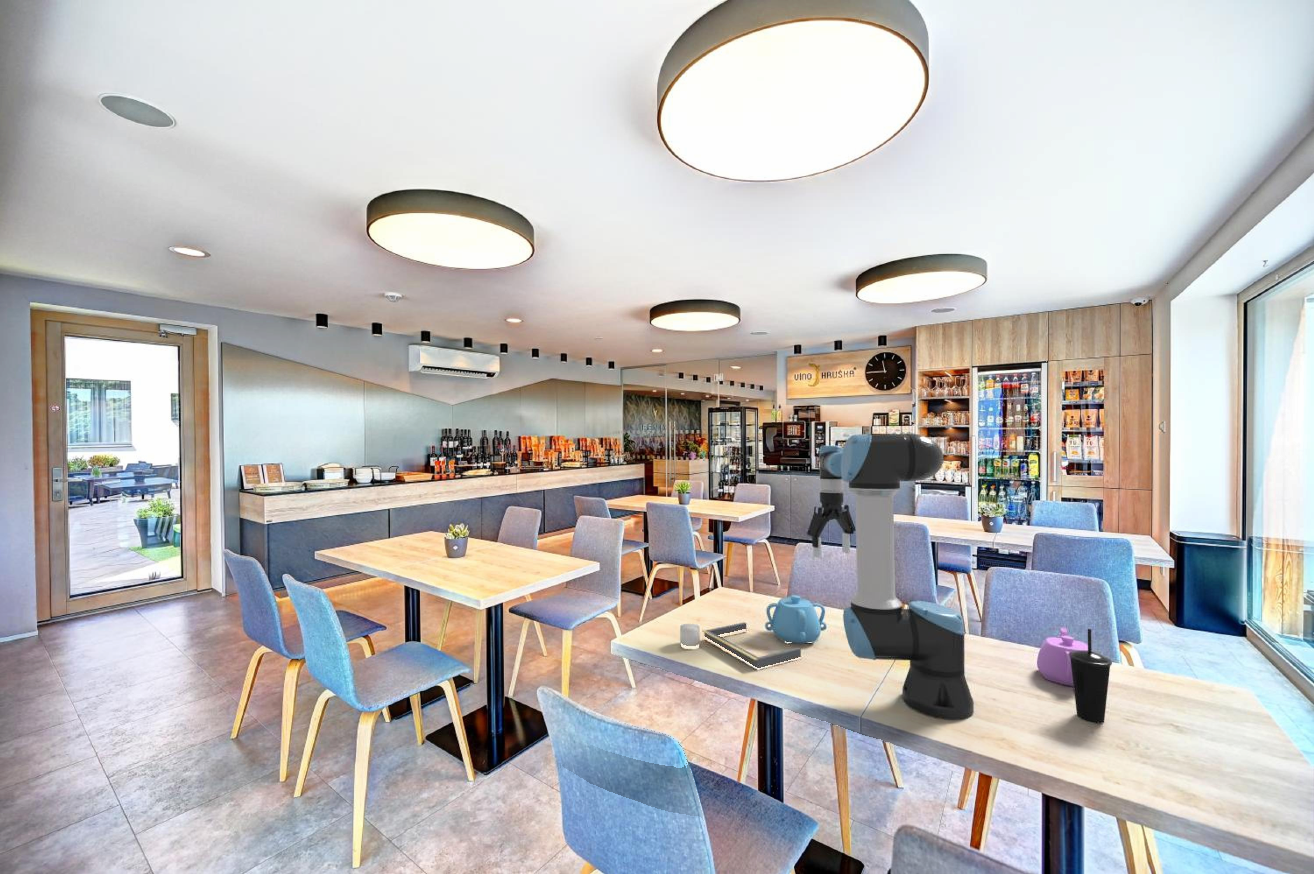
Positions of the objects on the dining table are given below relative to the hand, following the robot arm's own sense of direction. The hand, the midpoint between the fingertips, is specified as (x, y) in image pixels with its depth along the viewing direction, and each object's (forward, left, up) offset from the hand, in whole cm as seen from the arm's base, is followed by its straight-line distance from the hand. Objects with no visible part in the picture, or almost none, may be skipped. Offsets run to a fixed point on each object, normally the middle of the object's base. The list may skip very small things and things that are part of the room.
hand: (832, 555), depth 181 cm
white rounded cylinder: (+11, +50, -25) cm, 56 cm away
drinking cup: (-70, -6, -25) cm, 75 cm away
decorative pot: (0, +17, -25) cm, 30 cm away
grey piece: (0, +35, -25) cm, 42 cm away
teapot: (-57, -25, -25) cm, 67 cm away
